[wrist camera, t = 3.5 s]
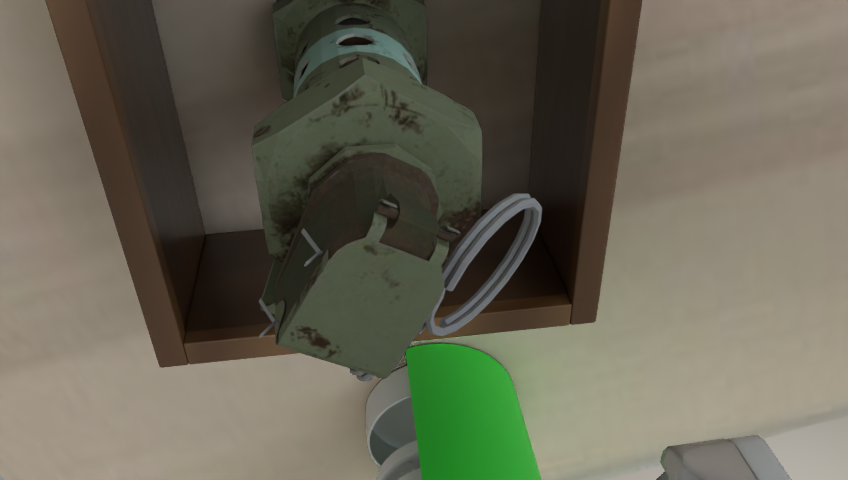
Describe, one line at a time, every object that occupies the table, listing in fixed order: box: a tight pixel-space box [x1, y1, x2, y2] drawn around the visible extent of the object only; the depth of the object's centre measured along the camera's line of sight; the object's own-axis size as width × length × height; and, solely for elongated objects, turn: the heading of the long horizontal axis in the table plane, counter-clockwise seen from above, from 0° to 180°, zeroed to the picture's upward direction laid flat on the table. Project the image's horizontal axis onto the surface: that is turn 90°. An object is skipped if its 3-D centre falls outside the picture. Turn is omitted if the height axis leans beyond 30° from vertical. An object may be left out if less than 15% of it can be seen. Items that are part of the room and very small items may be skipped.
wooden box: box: [45, 0, 642, 367], centre depth 25 cm, size 16×16×7 cm
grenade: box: [252, 0, 542, 382], centre depth 21 cm, size 7×7×15 cm
